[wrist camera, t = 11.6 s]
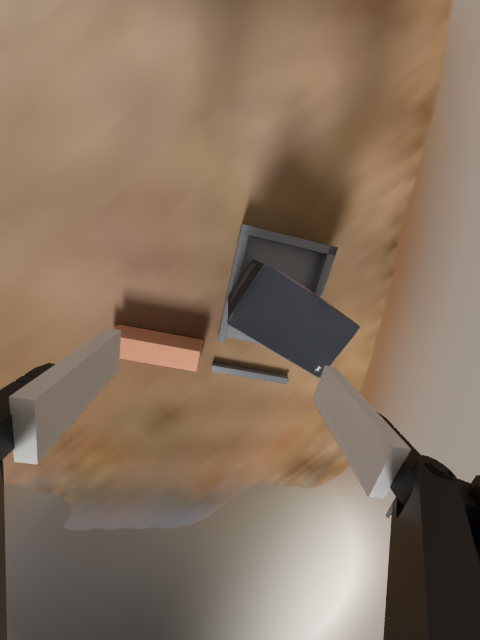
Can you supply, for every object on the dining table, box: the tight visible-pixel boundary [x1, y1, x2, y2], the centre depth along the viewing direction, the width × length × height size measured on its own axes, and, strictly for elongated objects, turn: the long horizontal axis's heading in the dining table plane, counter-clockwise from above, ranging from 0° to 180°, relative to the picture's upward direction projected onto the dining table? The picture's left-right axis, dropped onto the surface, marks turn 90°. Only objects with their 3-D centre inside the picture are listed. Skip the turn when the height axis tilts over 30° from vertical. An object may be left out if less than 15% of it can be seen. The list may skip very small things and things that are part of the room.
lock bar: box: [114, 325, 203, 372], centre depth 32 cm, size 13×3×4 cm, turn 77°
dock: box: [211, 224, 338, 384], centre depth 32 cm, size 12×21×3 cm, turn 167°
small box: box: [227, 259, 360, 378], centre depth 25 cm, size 11×6×10 cm, turn 57°
